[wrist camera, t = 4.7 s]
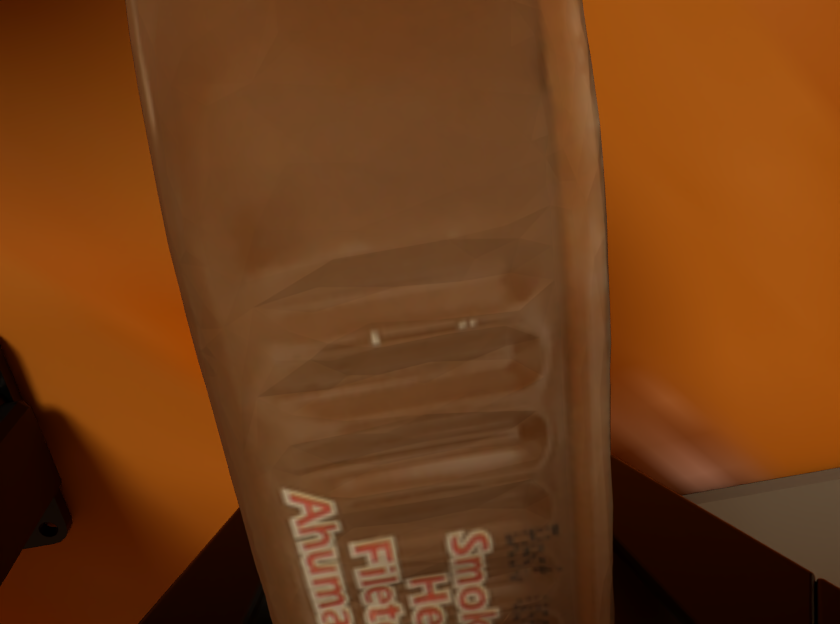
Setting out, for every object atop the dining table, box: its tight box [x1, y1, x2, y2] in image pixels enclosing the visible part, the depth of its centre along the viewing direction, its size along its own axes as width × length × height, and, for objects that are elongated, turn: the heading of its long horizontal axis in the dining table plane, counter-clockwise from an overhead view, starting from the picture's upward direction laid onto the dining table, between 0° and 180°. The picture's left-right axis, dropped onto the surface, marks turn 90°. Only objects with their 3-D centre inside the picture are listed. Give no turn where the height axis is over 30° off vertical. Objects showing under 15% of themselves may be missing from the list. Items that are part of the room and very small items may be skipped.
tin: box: [125, 0, 615, 624], centre depth 9 cm, size 15×3×8 cm, turn 7°
